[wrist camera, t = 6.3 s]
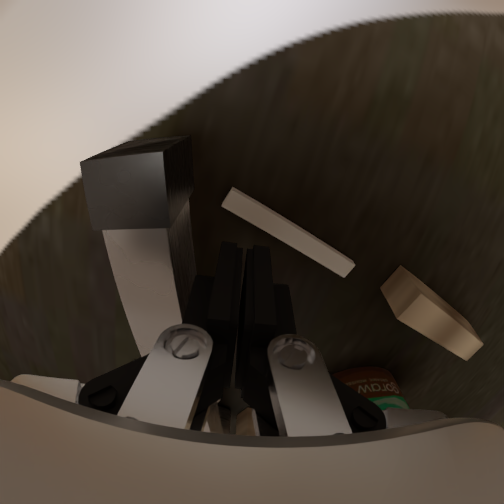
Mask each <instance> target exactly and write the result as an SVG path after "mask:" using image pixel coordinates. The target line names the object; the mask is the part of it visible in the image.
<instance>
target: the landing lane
mask: <svg viewBox="0 0 504 504" xmlns="http://www.w3.org/2000/svg"><path fill="white" fill-rule="evenodd" d="M222 207H224V208H225V209H227V210H229V211H231V212H232V213H234V214H236V215H238V216H239V217H241V218H243V219H245V220H246V221H248V222H250V223H252V224H253V225H255V226H257V227H259V228H260V229H262V230H264V231H266V232H267V233H269V234H271V235H273V236H274V237H276V238H278V239H279V240H281V241H283V242H285V243H286V244H288V245H290V246H291V247H293V248H295V249H296V250H298V251H300V252H302V253H303V254H305V255H307V256H308V257H310V258H312V259H313V260H315V261H317V262H318V263H320V264H322V265H323V266H325V267H327V268H328V269H330V270H332V271H333V272H335V273H337V274H338V275H340V276H342V277H343V278H345V277H346V276H347V274H348V273H349V272H350V271H351V270H352V269H353V268H354V266H355V264H354V262H353V261H352V260H351V259H349V258H348V257H346V256H345V255H343V254H342V253H340V252H339V251H337V250H336V249H334V248H332V247H331V246H329V245H328V244H326V243H325V242H323V241H321V240H320V239H318V238H317V237H315V236H314V235H312V234H310V233H309V232H307V231H306V230H304V229H302V228H301V227H299V226H298V225H296V224H294V223H293V222H291V221H289V220H288V219H286V218H285V217H283V216H281V215H280V214H278V213H276V212H275V211H273V210H271V209H270V208H268V207H266V206H265V205H263V204H261V203H260V202H258V201H256V200H255V199H253V198H251V197H249V196H248V195H246V194H244V193H243V192H241V191H239V190H237V189H236V188H234V187H232V188H231V190H230V191H229V193H228V195H227V196H226V198H225V199H224V201H223V203H222ZM133 361H134V360H133ZM220 400H221V399H220ZM220 400H218V401H217V403H218V402H219V401H220Z"/></svg>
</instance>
